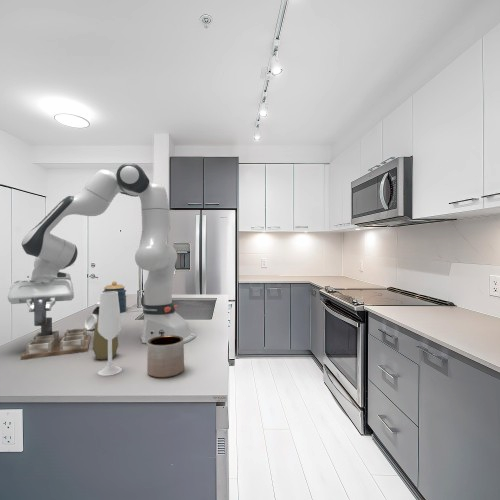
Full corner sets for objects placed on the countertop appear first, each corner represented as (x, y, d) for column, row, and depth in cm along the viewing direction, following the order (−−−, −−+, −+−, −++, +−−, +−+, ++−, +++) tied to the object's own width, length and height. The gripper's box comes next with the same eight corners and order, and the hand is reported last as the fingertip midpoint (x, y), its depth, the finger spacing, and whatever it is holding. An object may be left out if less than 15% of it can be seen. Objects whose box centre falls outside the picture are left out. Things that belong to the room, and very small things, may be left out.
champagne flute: (124, 372, 96) (123, 293, 95) (99, 377, 92) (98, 294, 92) (119, 365, 101) (118, 290, 101) (96, 369, 98) (95, 292, 97)
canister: (97, 313, 180) (97, 282, 180) (111, 309, 193) (110, 279, 192) (118, 314, 178) (118, 282, 177) (130, 309, 190) (130, 280, 190)
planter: (184, 377, 92) (184, 344, 92) (145, 380, 90) (144, 346, 90) (184, 363, 103) (183, 334, 103) (149, 366, 101) (148, 336, 101)
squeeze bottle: (93, 362, 104) (92, 307, 103) (92, 355, 111) (91, 303, 111) (119, 358, 107) (119, 305, 107) (117, 351, 115) (116, 301, 114)
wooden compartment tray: (90, 336, 133) (90, 312, 133) (87, 351, 115) (87, 323, 115) (34, 343, 125) (33, 317, 125) (20, 359, 107) (20, 329, 107)
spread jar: (119, 325, 153) (118, 301, 153) (106, 331, 142) (105, 305, 142) (95, 324, 154) (95, 300, 154) (80, 330, 143) (80, 305, 143)
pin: (48, 324, 114) (48, 298, 114) (38, 326, 111) (38, 300, 110) (41, 323, 115) (41, 298, 115) (31, 325, 112) (31, 299, 112)
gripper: (9, 275, 115) (1, 307, 106) (74, 273, 123) (71, 303, 114) (13, 286, 119) (5, 318, 110) (75, 284, 127) (73, 313, 118)
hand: (39, 310), depth 112 cm, fingers closed on pin, 4 cm apart
